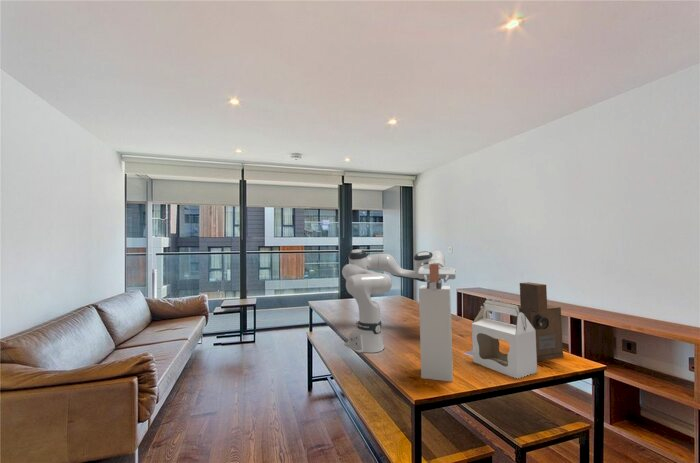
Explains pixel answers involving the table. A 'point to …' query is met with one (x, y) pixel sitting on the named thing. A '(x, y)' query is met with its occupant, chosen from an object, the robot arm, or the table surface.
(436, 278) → the brown flat block
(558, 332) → the vintage camera
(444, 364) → the post
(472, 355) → the mobile phone
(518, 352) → the gable box
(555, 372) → the table surface
